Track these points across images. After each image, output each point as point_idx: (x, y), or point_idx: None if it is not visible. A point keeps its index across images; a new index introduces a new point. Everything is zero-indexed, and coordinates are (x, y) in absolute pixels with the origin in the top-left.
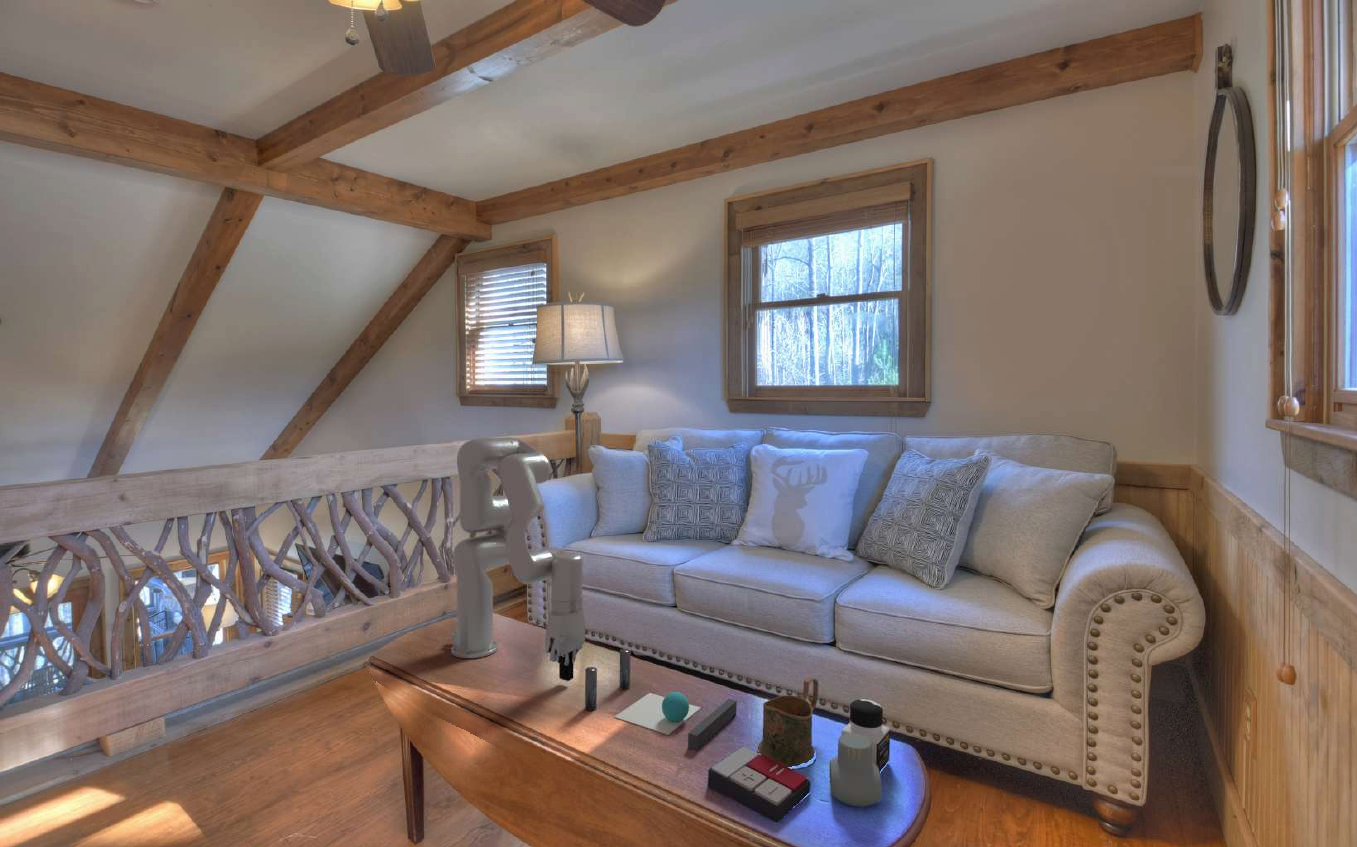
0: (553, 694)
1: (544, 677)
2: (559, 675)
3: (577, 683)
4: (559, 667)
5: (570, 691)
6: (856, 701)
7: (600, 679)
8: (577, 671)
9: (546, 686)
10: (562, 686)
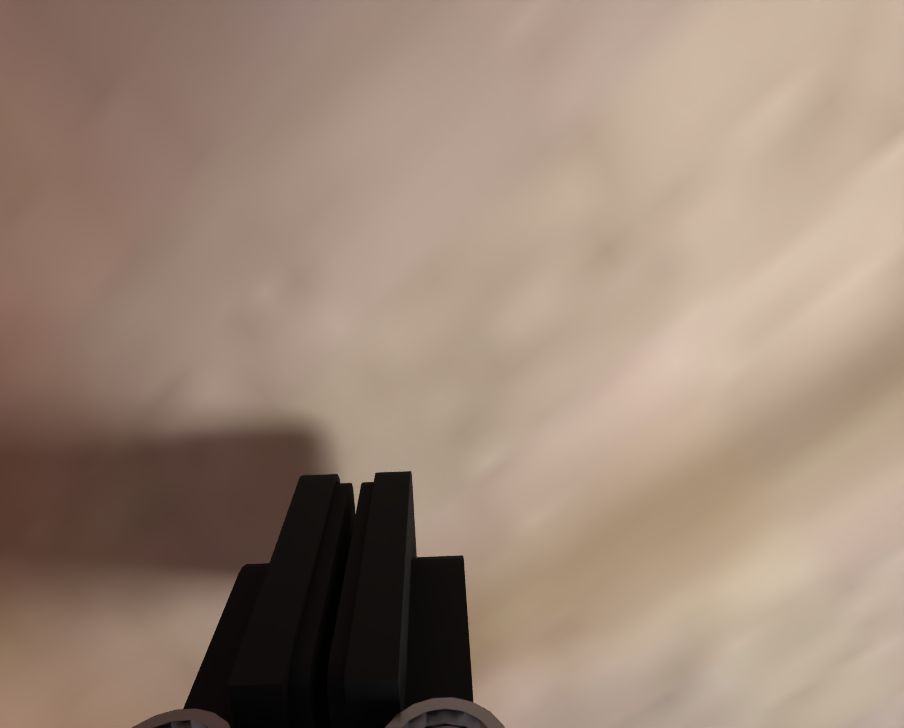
0: (60, 561)
1: (352, 33)
2: (293, 498)
3: (490, 581)
4: (261, 594)
5: None
6: None
7: (730, 702)
8: (827, 333)
9: (143, 324)
10: None
